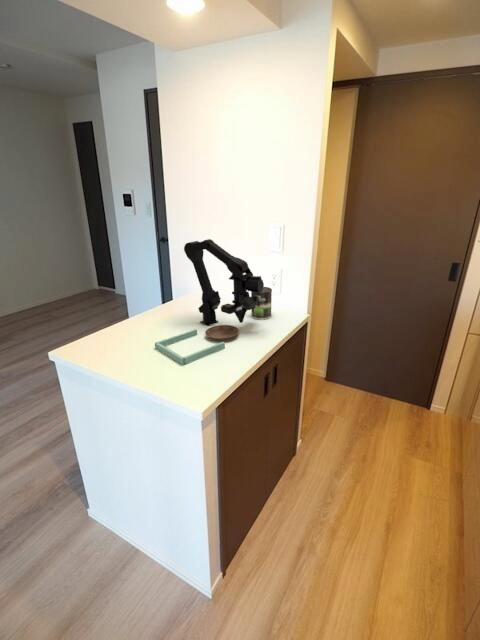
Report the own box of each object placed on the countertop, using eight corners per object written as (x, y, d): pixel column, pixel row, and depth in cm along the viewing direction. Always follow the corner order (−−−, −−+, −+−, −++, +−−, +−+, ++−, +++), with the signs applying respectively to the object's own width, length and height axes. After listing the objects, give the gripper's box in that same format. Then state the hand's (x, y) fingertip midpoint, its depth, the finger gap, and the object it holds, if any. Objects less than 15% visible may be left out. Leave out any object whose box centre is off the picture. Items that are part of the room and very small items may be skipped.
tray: (155, 348, 135) (154, 342, 134) (195, 334, 148) (195, 329, 147) (182, 365, 121) (182, 359, 120) (225, 348, 134) (224, 342, 133)
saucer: (199, 341, 141) (199, 335, 140) (213, 328, 154) (212, 323, 153) (232, 345, 136) (232, 339, 135) (243, 331, 149) (243, 326, 148)
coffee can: (268, 320, 161) (268, 292, 156) (248, 318, 165) (247, 291, 160) (274, 313, 170) (274, 287, 165) (255, 311, 173) (255, 285, 168)
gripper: (236, 298, 134) (237, 333, 140) (268, 288, 146) (267, 321, 151) (219, 292, 142) (221, 326, 147) (250, 284, 153) (250, 315, 159)
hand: (241, 322), depth 151 cm, fingers closed
